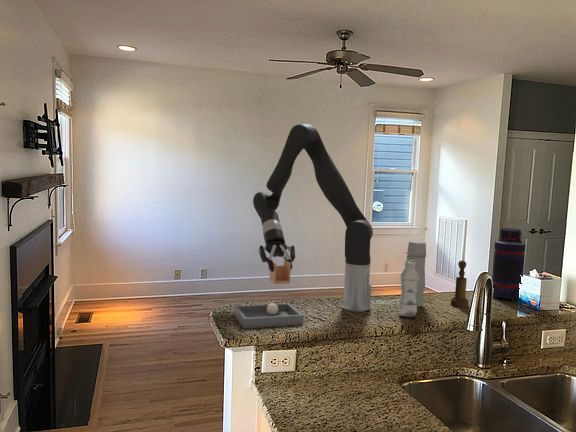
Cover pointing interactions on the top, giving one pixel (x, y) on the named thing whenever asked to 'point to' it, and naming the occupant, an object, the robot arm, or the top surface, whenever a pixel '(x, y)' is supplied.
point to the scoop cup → (280, 273)
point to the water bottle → (418, 266)
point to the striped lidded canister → (508, 264)
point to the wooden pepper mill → (460, 288)
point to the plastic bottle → (408, 290)
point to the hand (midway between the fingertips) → (281, 270)
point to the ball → (272, 308)
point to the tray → (267, 316)
